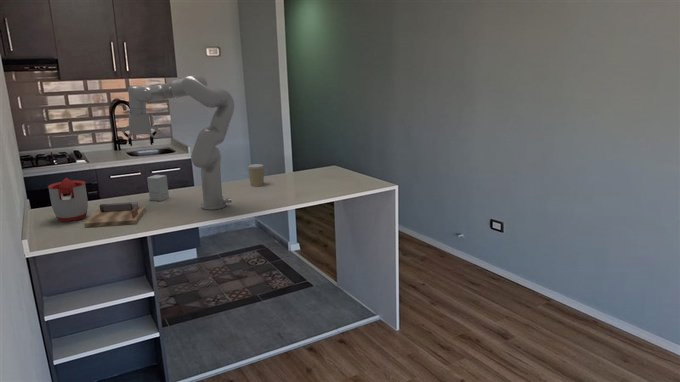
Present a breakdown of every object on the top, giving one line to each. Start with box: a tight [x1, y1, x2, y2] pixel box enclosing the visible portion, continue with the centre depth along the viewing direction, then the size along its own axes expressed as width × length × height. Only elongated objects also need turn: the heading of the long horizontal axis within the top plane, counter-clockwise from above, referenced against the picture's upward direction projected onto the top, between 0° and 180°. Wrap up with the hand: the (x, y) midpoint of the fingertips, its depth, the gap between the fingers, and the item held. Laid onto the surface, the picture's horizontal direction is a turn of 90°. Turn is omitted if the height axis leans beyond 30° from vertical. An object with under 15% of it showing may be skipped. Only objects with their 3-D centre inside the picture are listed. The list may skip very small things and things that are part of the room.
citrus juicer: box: [47, 177, 89, 223], centre depth 226 cm, size 16×17×20 cm
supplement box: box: [146, 174, 170, 202], centre depth 259 cm, size 7×7×13 cm
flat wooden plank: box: [83, 206, 147, 229], centre depth 227 cm, size 22×22×6 cm
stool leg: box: [99, 201, 140, 212], centre depth 234 cm, size 18×3×3 cm, turn 101°
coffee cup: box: [247, 163, 265, 188], centre depth 287 cm, size 9×9×12 cm
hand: (141, 145), depth 244 cm, fingers open, 9 cm apart
